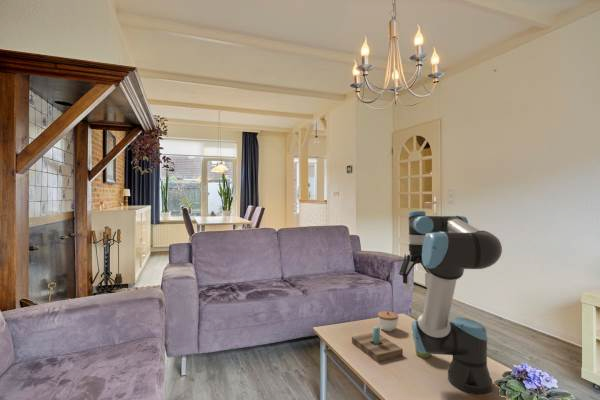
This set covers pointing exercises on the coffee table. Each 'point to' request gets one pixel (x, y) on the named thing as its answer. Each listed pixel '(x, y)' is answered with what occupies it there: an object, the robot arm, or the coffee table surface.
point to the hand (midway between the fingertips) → (417, 288)
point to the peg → (376, 335)
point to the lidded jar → (388, 320)
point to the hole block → (377, 347)
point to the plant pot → (421, 353)
